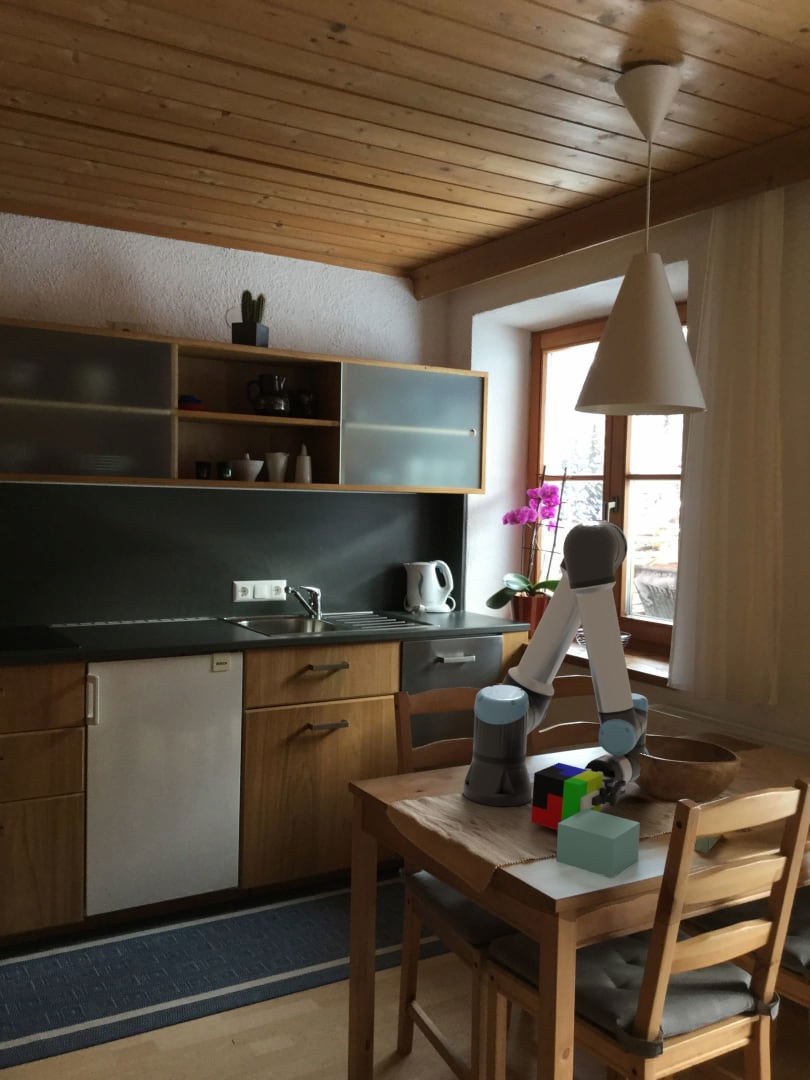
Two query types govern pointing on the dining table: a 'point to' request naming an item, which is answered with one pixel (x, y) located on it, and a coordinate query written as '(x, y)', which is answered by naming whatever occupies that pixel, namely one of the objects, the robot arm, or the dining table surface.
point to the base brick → (598, 842)
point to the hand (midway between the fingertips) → (557, 797)
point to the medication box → (705, 843)
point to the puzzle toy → (561, 793)
